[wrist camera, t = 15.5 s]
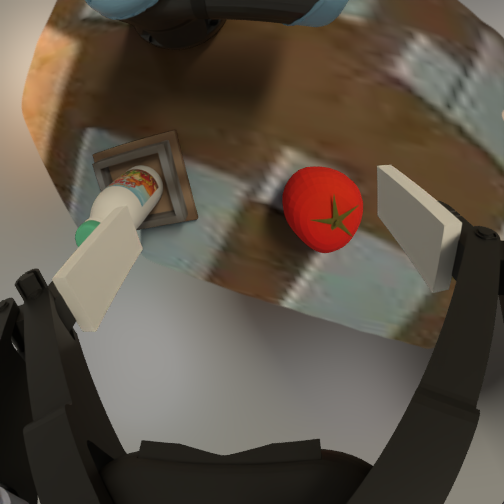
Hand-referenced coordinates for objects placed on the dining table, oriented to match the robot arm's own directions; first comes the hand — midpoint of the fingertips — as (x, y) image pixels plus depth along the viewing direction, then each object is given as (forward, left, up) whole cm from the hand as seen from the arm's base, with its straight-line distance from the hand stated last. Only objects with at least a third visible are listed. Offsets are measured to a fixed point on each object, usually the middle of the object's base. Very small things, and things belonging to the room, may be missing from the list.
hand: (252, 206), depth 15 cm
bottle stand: (+6, -21, -35) cm, 41 cm away
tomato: (+14, +8, -35) cm, 39 cm away
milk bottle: (+6, -21, -34) cm, 40 cm away
